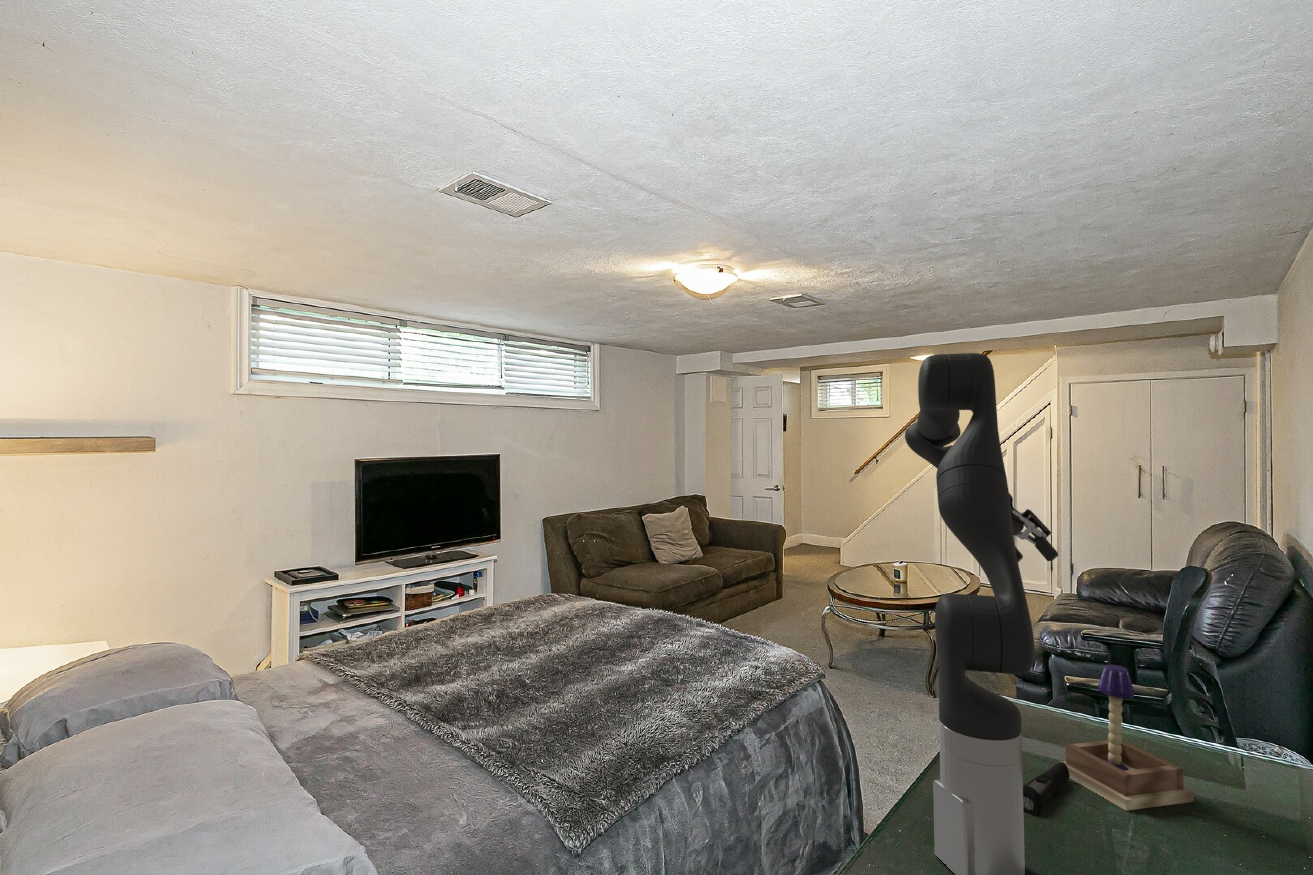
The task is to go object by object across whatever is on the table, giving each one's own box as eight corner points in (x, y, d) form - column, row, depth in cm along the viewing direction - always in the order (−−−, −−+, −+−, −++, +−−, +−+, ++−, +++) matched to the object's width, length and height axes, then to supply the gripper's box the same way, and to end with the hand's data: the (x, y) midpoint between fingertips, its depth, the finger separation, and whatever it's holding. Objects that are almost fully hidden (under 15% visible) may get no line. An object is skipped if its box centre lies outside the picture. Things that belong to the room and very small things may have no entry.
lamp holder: (1125, 810, 92) (1125, 778, 92) (1058, 771, 104) (1057, 742, 104) (1193, 801, 94) (1192, 770, 95) (1120, 764, 106) (1119, 736, 106)
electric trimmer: (1077, 786, 100) (1076, 765, 100) (1038, 819, 90) (1037, 796, 91) (1050, 776, 103) (1050, 756, 103) (1009, 808, 93) (1009, 786, 93)
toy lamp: (1124, 769, 101) (1121, 662, 102) (1144, 784, 97) (1140, 671, 97) (1092, 767, 102) (1089, 661, 102) (1110, 782, 97) (1107, 671, 98)
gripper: (962, 477, 117) (1019, 547, 106) (1019, 477, 122) (1079, 544, 111) (940, 505, 122) (993, 575, 111) (996, 503, 127) (1051, 570, 116)
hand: (1036, 559), depth 111 cm, fingers open, 8 cm apart
